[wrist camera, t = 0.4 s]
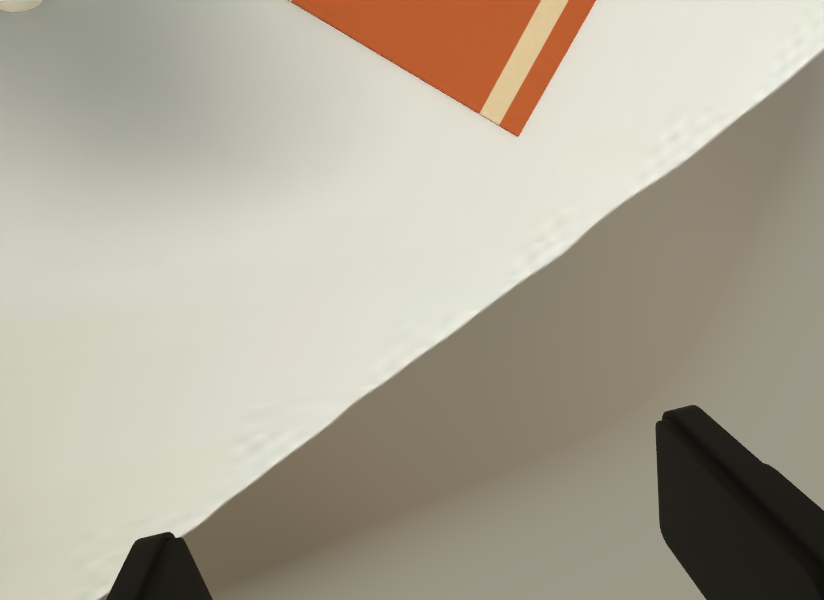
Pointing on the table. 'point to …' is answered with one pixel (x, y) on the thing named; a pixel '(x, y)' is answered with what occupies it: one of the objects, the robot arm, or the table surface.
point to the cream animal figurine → (18, 5)
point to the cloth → (467, 45)
